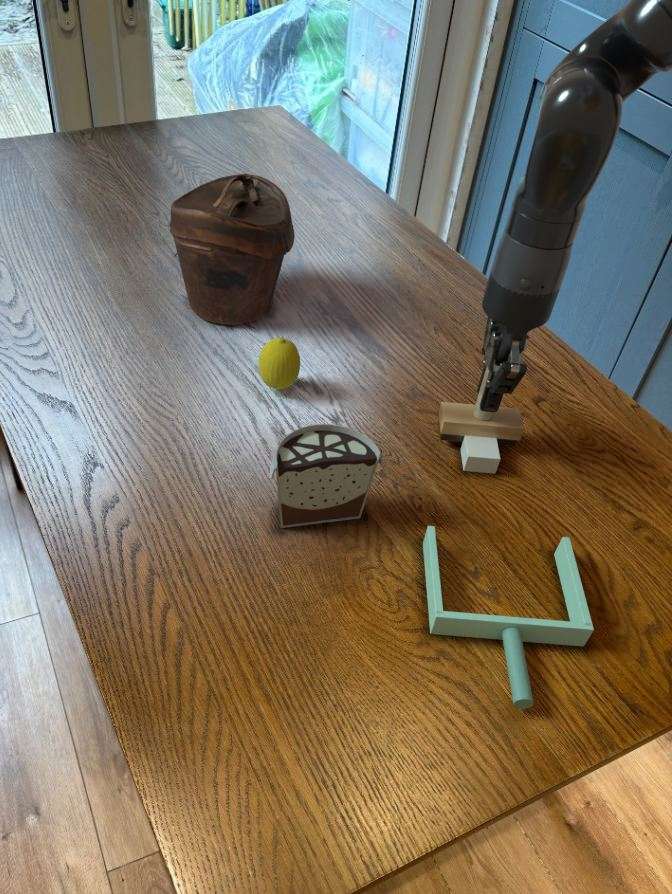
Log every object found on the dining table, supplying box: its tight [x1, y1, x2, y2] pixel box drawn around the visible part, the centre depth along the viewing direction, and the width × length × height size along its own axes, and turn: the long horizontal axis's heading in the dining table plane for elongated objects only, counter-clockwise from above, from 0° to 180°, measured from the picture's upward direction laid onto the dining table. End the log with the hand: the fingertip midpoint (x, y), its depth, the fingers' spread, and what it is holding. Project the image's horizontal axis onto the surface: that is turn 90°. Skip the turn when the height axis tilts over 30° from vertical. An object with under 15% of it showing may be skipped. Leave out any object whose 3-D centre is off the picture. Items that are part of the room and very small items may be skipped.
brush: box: [437, 366, 525, 447], centre depth 92 cm, size 4×10×10 cm, turn 86°
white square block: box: [460, 435, 501, 474], centre depth 93 cm, size 4×4×2 cm
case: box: [169, 173, 296, 326], centre depth 110 cm, size 18×20×18 cm
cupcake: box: [269, 423, 384, 529], centre depth 84 cm, size 12×6×10 cm, turn 102°
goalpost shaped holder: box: [422, 525, 595, 710], centre depth 76 cm, size 20×16×3 cm
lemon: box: [258, 337, 301, 390], centre depth 99 cm, size 6×6×8 cm
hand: (486, 401), depth 92 cm, fingers closed on brush, 2 cm apart
